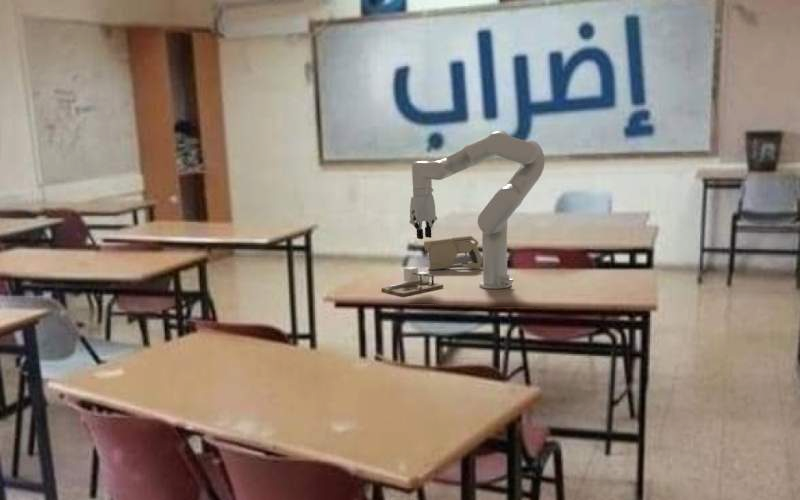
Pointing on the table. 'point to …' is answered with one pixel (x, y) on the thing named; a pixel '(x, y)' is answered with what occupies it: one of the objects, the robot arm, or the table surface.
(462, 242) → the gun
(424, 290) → the hole board
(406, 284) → the beam
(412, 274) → the sliding leg
